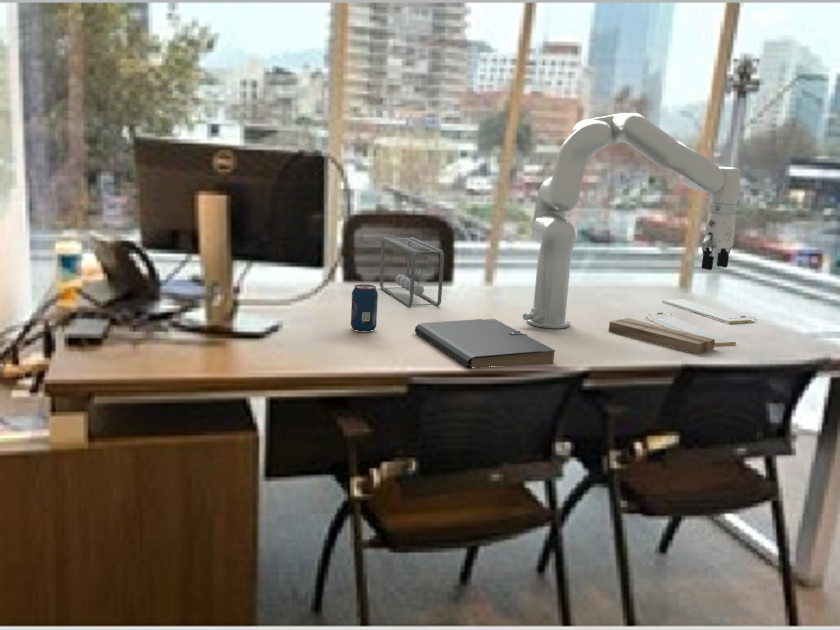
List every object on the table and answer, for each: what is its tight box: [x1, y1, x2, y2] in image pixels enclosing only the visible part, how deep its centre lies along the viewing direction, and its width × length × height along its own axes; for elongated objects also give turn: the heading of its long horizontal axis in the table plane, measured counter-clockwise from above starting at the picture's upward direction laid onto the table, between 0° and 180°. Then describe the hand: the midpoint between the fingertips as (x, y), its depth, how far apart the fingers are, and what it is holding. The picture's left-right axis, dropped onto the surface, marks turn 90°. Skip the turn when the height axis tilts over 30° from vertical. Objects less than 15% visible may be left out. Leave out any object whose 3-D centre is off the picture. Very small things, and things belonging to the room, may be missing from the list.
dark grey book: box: [414, 318, 556, 368], centre depth 220 cm, size 33×4×24 cm
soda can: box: [350, 284, 379, 331], centre depth 230 cm, size 7×7×12 cm
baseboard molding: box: [661, 298, 758, 324], centre depth 280 cm, size 31×3×12 cm
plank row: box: [608, 317, 715, 355], centre depth 239 cm, size 9×28×3 cm, turn 43°
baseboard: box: [644, 312, 737, 346], centre depth 250 cm, size 30×3×10 cm
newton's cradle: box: [379, 236, 445, 308], centre depth 274 cm, size 30×10×18 cm, turn 21°
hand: (714, 267), depth 254 cm, fingers open, 8 cm apart
